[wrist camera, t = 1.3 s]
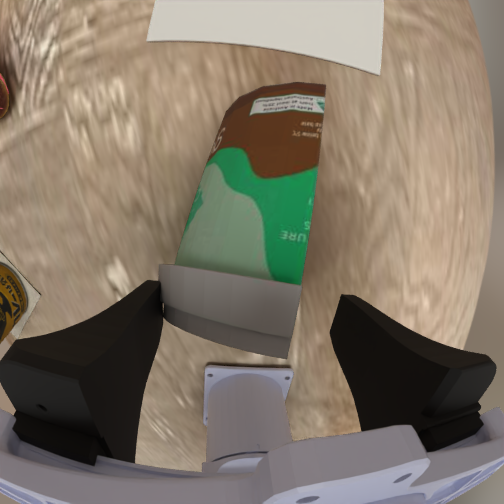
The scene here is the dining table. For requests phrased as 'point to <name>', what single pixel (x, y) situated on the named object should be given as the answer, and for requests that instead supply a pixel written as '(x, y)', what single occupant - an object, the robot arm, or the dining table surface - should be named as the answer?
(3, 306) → the condiment
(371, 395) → the robot arm
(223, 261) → the food container
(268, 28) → the mat
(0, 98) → the heart
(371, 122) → the dining table surface
